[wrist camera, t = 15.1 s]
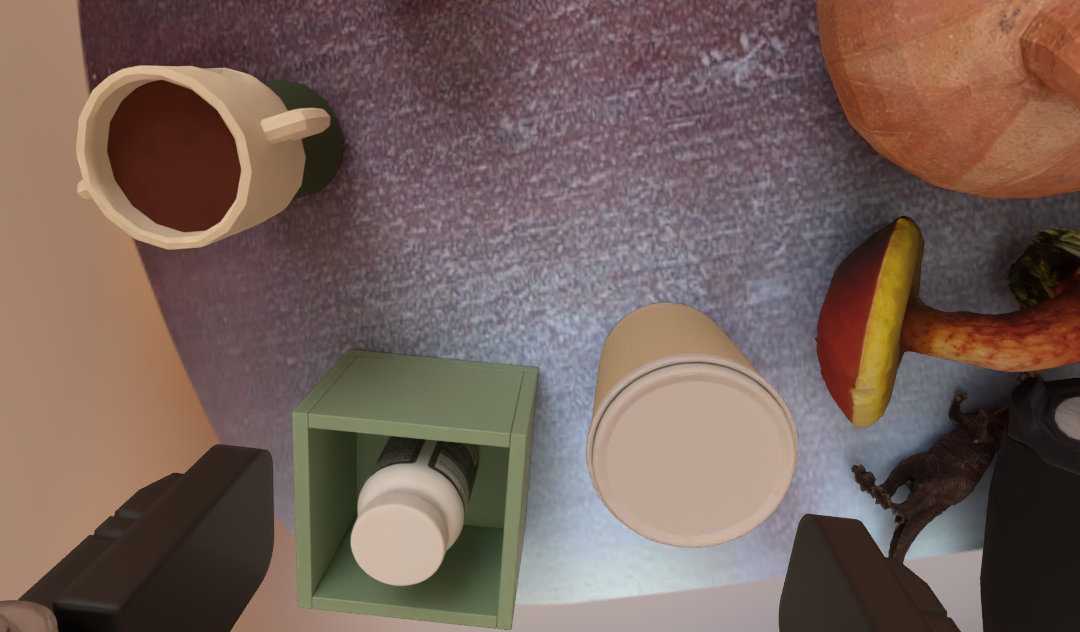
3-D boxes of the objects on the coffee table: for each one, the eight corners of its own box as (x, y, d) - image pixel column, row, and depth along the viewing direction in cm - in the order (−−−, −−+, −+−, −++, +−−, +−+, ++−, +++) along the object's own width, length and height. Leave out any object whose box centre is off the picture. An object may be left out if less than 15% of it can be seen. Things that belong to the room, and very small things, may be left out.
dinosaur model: (1034, 356, 42) (1044, 559, 47) (839, 412, 42) (870, 609, 47) (1088, 383, 38) (1094, 602, 43) (874, 445, 38) (904, 656, 43)
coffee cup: (564, 406, 44) (558, 517, 33) (618, 265, 41) (631, 333, 30) (707, 453, 44) (750, 579, 33) (770, 317, 42) (840, 404, 30)
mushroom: (1139, 541, 33) (806, 455, 41) (1159, 315, 38) (857, 276, 46) (1238, 440, 24) (781, 353, 32) (1250, 155, 29) (848, 140, 36)
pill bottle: (389, 485, 45) (337, 589, 36) (391, 402, 44) (338, 489, 34) (479, 495, 45) (450, 602, 36) (484, 412, 43) (456, 502, 34)
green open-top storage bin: (349, 513, 47) (297, 607, 39) (349, 348, 44) (291, 411, 35) (524, 532, 47) (511, 630, 38) (538, 367, 43) (527, 435, 35)
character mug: (359, 44, 38) (253, 22, 26) (404, 174, 40) (324, 210, 28) (178, 104, 40) (-3, 110, 28) (230, 226, 42) (82, 283, 30)
